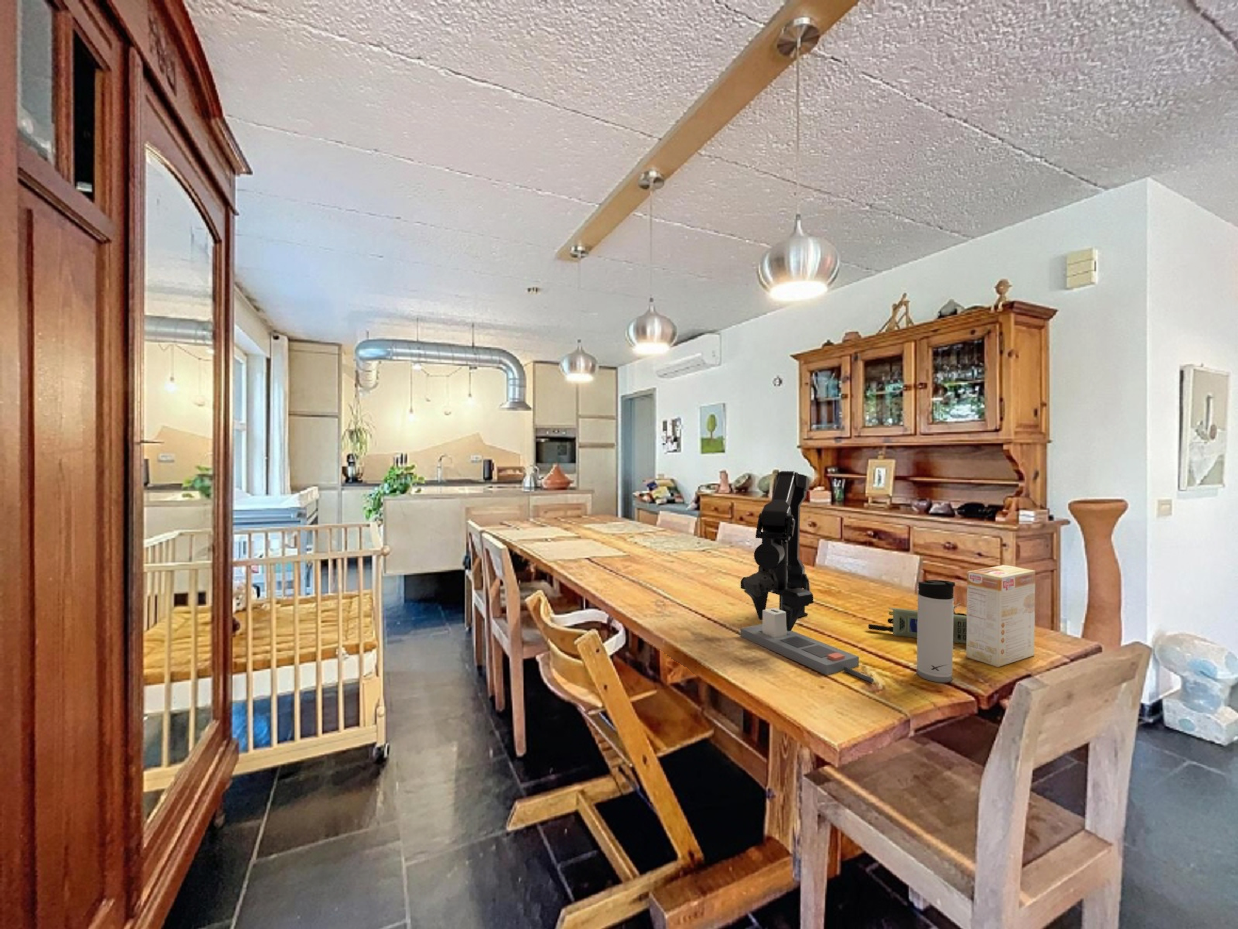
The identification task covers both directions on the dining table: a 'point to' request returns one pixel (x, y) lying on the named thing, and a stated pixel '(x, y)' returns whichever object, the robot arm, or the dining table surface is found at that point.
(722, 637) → the dining table surface
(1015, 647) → the coffeecake box
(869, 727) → the dining table surface
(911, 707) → the dining table surface
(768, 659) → the dining table surface
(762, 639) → the power strip
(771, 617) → the block
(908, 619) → the handheld radio
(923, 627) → the travel mug
